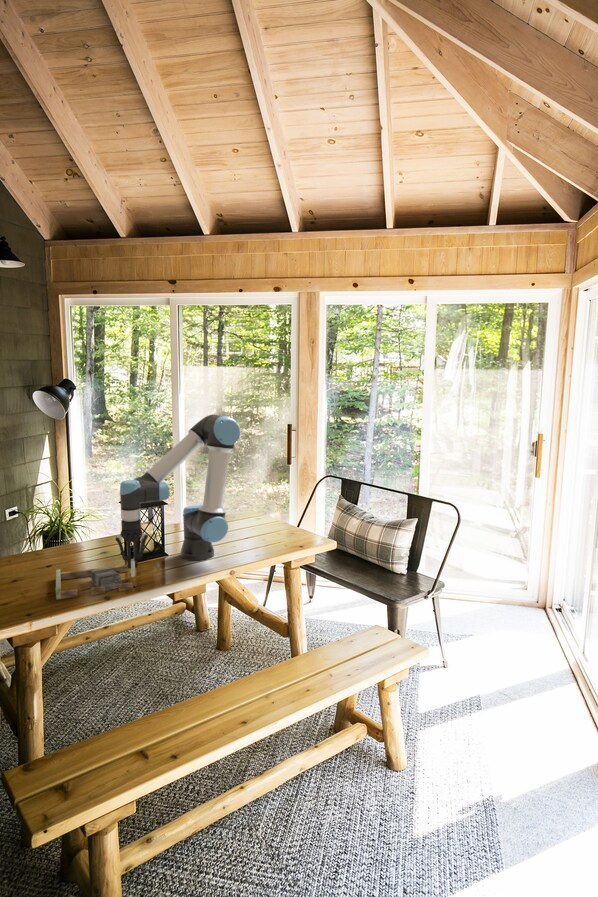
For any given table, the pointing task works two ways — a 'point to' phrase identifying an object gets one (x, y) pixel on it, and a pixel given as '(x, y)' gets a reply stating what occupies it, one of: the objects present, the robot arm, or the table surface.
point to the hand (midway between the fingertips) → (133, 575)
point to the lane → (85, 573)
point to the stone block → (106, 578)
